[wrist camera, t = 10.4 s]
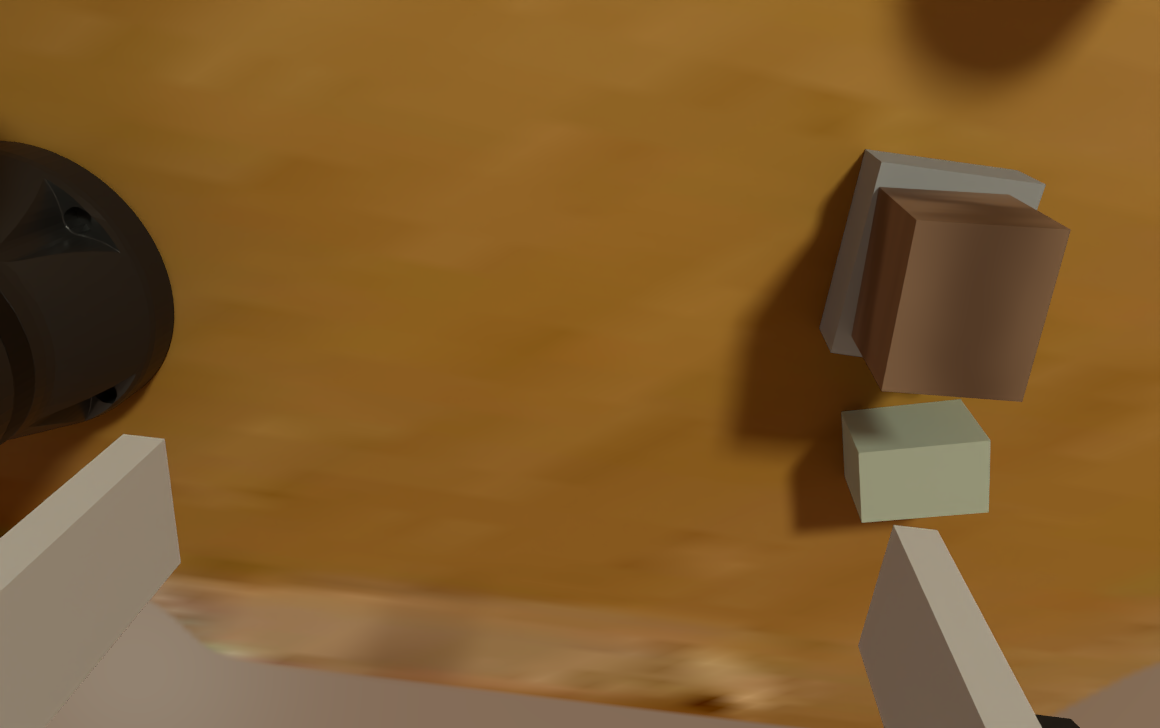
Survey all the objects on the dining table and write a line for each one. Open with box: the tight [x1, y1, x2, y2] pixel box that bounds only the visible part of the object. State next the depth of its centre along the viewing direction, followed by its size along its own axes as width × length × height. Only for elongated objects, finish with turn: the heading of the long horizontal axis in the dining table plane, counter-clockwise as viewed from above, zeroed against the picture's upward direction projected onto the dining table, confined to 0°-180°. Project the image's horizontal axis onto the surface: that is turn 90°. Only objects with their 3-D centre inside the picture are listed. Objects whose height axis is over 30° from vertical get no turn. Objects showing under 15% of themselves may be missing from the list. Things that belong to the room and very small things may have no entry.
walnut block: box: [851, 187, 1070, 402], centre depth 35 cm, size 6×7×6 cm
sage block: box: [841, 399, 990, 523], centre depth 43 cm, size 6×4×4 cm, turn 99°
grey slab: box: [819, 149, 1046, 357], centre depth 40 cm, size 7×9×4 cm
